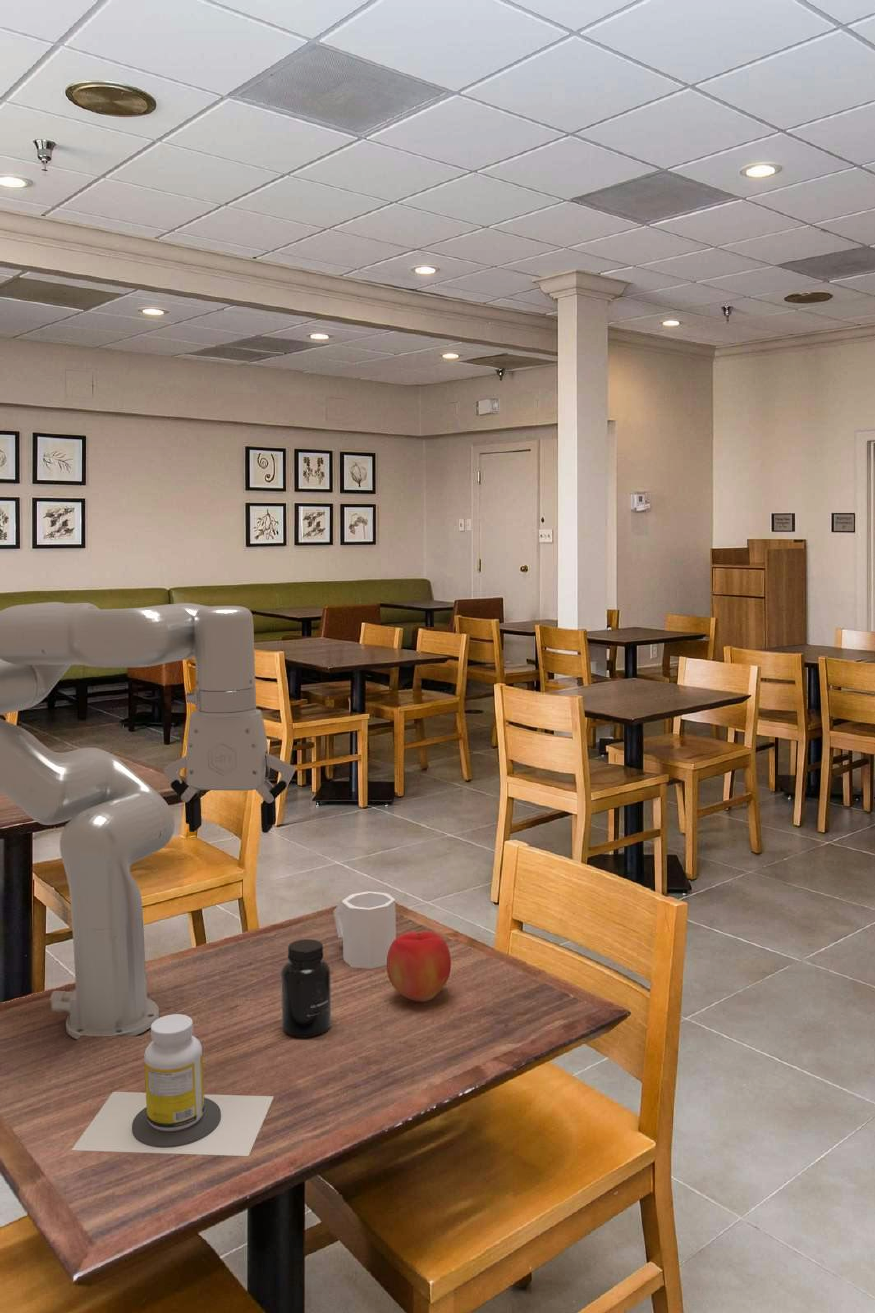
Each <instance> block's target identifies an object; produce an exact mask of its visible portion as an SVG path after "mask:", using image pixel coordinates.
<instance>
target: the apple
mask: <svg viewBox="0 0 875 1313" xmlns="http://www.w3.org/2000/svg"><path fill="white" fill-rule="evenodd" d="M451 962H452V961H451V954H450V950H449V947H448V944H447V942H446V941H445V939H444V937H442V936H441V935H440V934H438V933H436V932H434V931H408V932H405V933H402V934H400V935H399V936H396V939H395V940H394V941H393V942H392V944H391V946H390V948H389V951H388V955H387V965H386V972H387V976H388V979H389V982H390V984H391V985H392V987H393V988H394V989H395V990H396V991H397V992H398V993H399V994H400V995H402V996H404V997H405V998H406V999H409V1000H412V1001H414V1002H420V1003H421V1002H422V1003H423V1002H428V1001H430V1000H431V999H433V998H434V997H435V996H436V995H437V994H439V992H440V991H441V990H442V989H443V988H444V987H445V986H446V984H447V982H448V980H449V977H450V973H451V969H452V968H451V967H452V966H451V965H452V963H451Z"/></svg>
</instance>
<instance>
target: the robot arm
mask: <svg viewBox="0 0 875 1313" xmlns="http://www.w3.org/2000/svg"><path fill="white" fill-rule="evenodd" d="M254 631H255V630H254V617H253V614H252V611H251V610H250V609H248V608H247V607H244V606H242V605H241V606H239V605H214V606H208V605H204V604H203V605H202V604H199V603H197V604H196V603H192V602H180V603H178V602H177V603H170V604H168V603H167V604H159V605H151V606H145V607H144V606H143V607H133V608H132V607H131V608H109V609H107V608H104V609H100V608H99V607H98V606H97V605H95V604H94V603H93V604H92V603H91V602H90V603H89V602H73V603H66V602H59V601H50V602H49V601H48V602H40V603H37V602H36V603H28V604H17V605H13V606H9V607H7V608H4V609H2V610H0V716H1V715H6V714H9V713H14V712H18V711H19V712H20V711H25V710H27V709H30V708H33V707H35V706H36V705H37V704H39V703H41V702H42V701H43V700H44V699H45V698H46V697H47V696H48V695H49V694H50V693H51V691H52V690H53V688H55V686H56V685H57V684H58V682H59V681H60V680H61V679H62V677H63V676H64V675H65V674H66V672H67V671H68V670H69V669H70V668H71V666H86V667H94V668H147V667H149V668H150V667H155V666H159V665H163V664H168V663H174V662H179V661H185V660H191V659H194V660H195V681H196V682H195V684H196V685H195V686H196V687H195V689H194V691H192V692H186V695H185V701H186V703H189V704H191V703H192V704H194V706H195V709H196V711H193V712H191V713H190V717H189V722H188V730H187V731H188V732H187V741H186V742H187V744H186V756H183V757H181V758H179V759H178V760H176V761H174V762H172V763H170V764H168V765H167V766H165V767H164V768H163V769H162V771H163V772H162V773H163V774H164V775H165V777H166V779H167V781H168V783H169V784H170V788H171V789H172V790H173V791H174V792H175V793H176V794H177V795H178V796H179V797H180V799H181V801H182V802H183V803H184V816H185V823H186V825H188V831H189V833H194V832H195V831H197V830H199V828H201V827H202V800H201V798H200V796H198V794H199V792H200V791H233V792H234V791H235V792H236V791H240V792H242V791H254V790H255V791H256V793H258V794H259V795H260V797H261V798H262V799H263V800H262V802H261V803H260V819H261V820H260V824H261V826H260V827H261V832H262V833H263V834H268V833H269V832H270V831H271V829H272V828H273V826H275V825H276V822H277V808H276V807H277V806H276V799H277V798H278V797H279V796H280V795H281V793H283V792H284V791H285V790H286V789H287V787H288V786H289V784H290V782H291V780H292V778H293V776H294V774H295V771H296V768H295V766H294V765H292V764H290V763H288V762H286V761H284V760H282V759H280V758H278V757H277V756H274V755H273V754H270V753H269V748H268V738H267V733H266V732H267V731H266V726H265V722H264V717H263V714H262V710H261V709H257V697H256V695H257V694H256V688H257V687H256V668H255V666H256V664H255V662H256V660H255V635H254V634H255V633H254ZM184 768H185V771H186V772H185V775H186V782H185V780H184V779H182V778H181V777H180V773H179V772H180V771H181V770H182V769H184ZM270 769H272V770H274V771H277V772H278V773H280V778H279V780H278V782H277V783H276V784H275V786H274V785H273V783H271V782H270V780H269V778H270V771H271V770H270ZM0 791H1V793H3V795H5V796H6V797H7V798H8V799H9V800H10V801H12V802H13V803H14V804H15V805H16V806H17V807H18V808H20V809H21V810H22V811H23V812H24V813H25V814H26V815H27V816H28V817H30V818H31V819H32V820H34V821H35V822H37V823H39V824H40V825H45V826H46V825H47V826H52V825H57V824H61V823H65V822H67V823H66V824H65V826H64V827H63V830H62V831H61V834H60V839H59V851H60V857H61V860H62V864H63V867H64V871H65V875H66V880H67V884H68V890H69V899H70V911H71V912H70V914H71V925H72V926H71V928H72V940H73V941H72V944H73V963H74V964H73V965H74V980H75V989H74V990H73V991H66V990H63V991H62V990H54V991H52V993H51V995H50V1004H51V1011H52V1012H67V1013H69V1015H68V1016H67V1018H66V1020H65V1024H66V1025H65V1026H66V1032H67V1034H68V1035H69V1036H70V1037H72V1038H73V1039H76V1040H79V1039H80V1038H81V1037H82V1036H88V1037H108V1036H109V1037H110V1036H111V1037H112V1036H114V1037H136V1036H138V1035H139V1034H142V1033H145V1032H146V1031H147V1030H149V1029H151V1025H152V1023H153V1022H154V1021H155V1020H157V1019H158V1018H160V1012H159V1011H160V1009H159V1006H158V1004H157V1003H156V1002H155V1001H153V1000H152V999H151V998H148V994H147V993H148V992H147V975H146V974H147V972H146V970H147V968H146V952H145V933H144V931H145V930H144V913H143V912H144V911H143V900H142V895H141V890H140V887H139V886H138V883H137V882H136V880H135V878H134V876H133V875H132V873H131V869H130V867H131V865H133V864H135V863H137V862H138V861H141V860H143V859H144V858H147V857H150V856H152V855H153V854H155V853H157V852H159V851H161V850H163V848H164V847H166V846H167V845H168V844H169V842H170V841H171V839H172V838H173V836H174V833H175V827H176V826H175V818H174V814H173V812H172V810H171V807H170V806H169V804H168V803H167V801H166V799H164V797H162V795H160V794H159V793H158V791H157V790H155V788H153V787H152V786H150V784H148V783H147V782H146V781H145V780H144V779H143V778H141V777H140V776H139V775H138V774H137V773H135V771H133V770H132V769H131V768H129V767H128V766H127V765H126V764H125V763H124V762H122V761H121V760H120V759H119V758H118V757H117V756H115V755H114V754H112V753H110V752H108V751H106V750H103V749H101V748H97V747H81V748H76V749H74V750H71V751H66V752H57V751H54V750H52V749H50V748H48V747H47V746H46V745H44V743H43V742H41V741H40V740H38V738H37V737H35V735H33V734H32V733H31V732H29V731H28V730H26V729H25V728H23V727H21V726H18V725H16V724H15V723H12V722H9V721H7V720H4V719H2V718H0Z"/></svg>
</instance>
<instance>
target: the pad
mask: <svg viewBox="0 0 875 1313" xmlns="http://www.w3.org/2000/svg"><path fill="white" fill-rule="evenodd" d="M220 1120H221V1110H220V1108H219V1106H218V1105H217V1104H216V1103H215V1102H214V1101H212V1100H210V1099H208V1098H205V1097H204V1113H203V1115H202V1117H201V1118H200V1120H199V1121H197V1122H196V1123H195V1124H193V1125H192V1126H190V1127H188V1128H185V1129H182V1130H177V1131H161V1130H158V1129H156V1128H154V1127H152V1126H151V1125H150V1123H149V1122H148V1118H147V1107H145V1108H144V1109H143V1110H141V1111H140V1112H139V1113H138V1114H137V1115H136V1117H135V1118H134V1120H133V1123H132V1132H133V1135H134V1137H135V1138H136V1139H137V1140H138V1141H139V1142H141V1143H143V1144H145V1145H148V1146H153V1147H161V1148H169V1147H178V1146H183V1145H187V1144H190V1143H193V1142H196V1141H198V1140H200V1139H202V1138H204V1137H206V1136H207V1135H209V1134H210V1133H212V1132H213V1131H214V1130H215V1129H216V1127H217V1126H218V1125H219V1123H220Z"/></svg>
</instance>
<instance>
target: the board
mask: <svg viewBox="0 0 875 1313" xmlns="http://www.w3.org/2000/svg"><path fill="white" fill-rule="evenodd" d="M204 1097H205V1098H208V1099H210V1100H212V1101H214V1102H215V1103H216V1104H217V1105H218V1106H219V1108H220V1110H221V1120H220V1123H219V1125H218V1126H217V1127H216V1129H215V1130H214V1131H213V1132H212V1133H210V1134H209V1135H207V1136H206V1137H204V1138H202V1139H200V1140H198V1141H196V1142H193V1143H190V1144H187V1145H183V1146H178V1147H169V1148H161V1147H153V1146H148V1145H145V1144H143V1143H141V1142H139V1141H138V1140H137V1139H136V1138H135V1137H134V1135H133V1132H132V1123H133V1120H134V1118H135V1117H136V1115H137V1114H138V1113H139V1112H140V1111H141V1110H143V1109H144V1108H145V1107H147V1104H146V1092H137V1091H136V1092H135V1091H134V1092H132V1091H130V1092H129V1091H113V1092H112V1093H111V1094H110V1095H109V1097H108V1098H107V1100H106V1101H105V1102H104V1104H102V1107H100V1109H99V1111H98V1112H97V1113H96V1115H95V1117H93V1120H91V1122H90V1123H89V1125H88V1126H87V1127H86V1128H85V1130H84V1132H83V1133H82V1134H81V1136H80V1137H79V1138H78V1140H77V1141H76V1143H75V1144H74V1146H73V1147H72V1149H71V1151H75V1152H77V1151H78V1152H80V1151H81V1152H100V1153H101V1152H102V1153H103V1152H104V1153H105V1152H106V1153H107V1152H108V1153H133V1154H134V1153H135V1154H136V1153H137V1154H163V1155H164V1154H166V1155H167V1154H169V1155H195V1156H197V1155H198V1156H199V1155H200V1156H222V1157H223V1156H225V1157H226V1156H230V1157H233V1156H234V1157H249V1156H250V1153H251V1151H252V1149H253V1146H254V1144H255V1142H256V1140H257V1137H258V1135H259V1133H260V1130H261V1128H262V1125H263V1123H264V1121H265V1118H266V1116H267V1114H268V1111H269V1110H270V1107H271V1105H272V1103H273V1100H274V1097H275V1096H274V1095H271V1096H270V1095H269V1096H268V1095H240V1094H239V1095H238V1094H236V1095H235V1094H234V1095H233V1094H232V1095H231V1094H207V1093H206V1094H205V1093H204Z"/></svg>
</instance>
